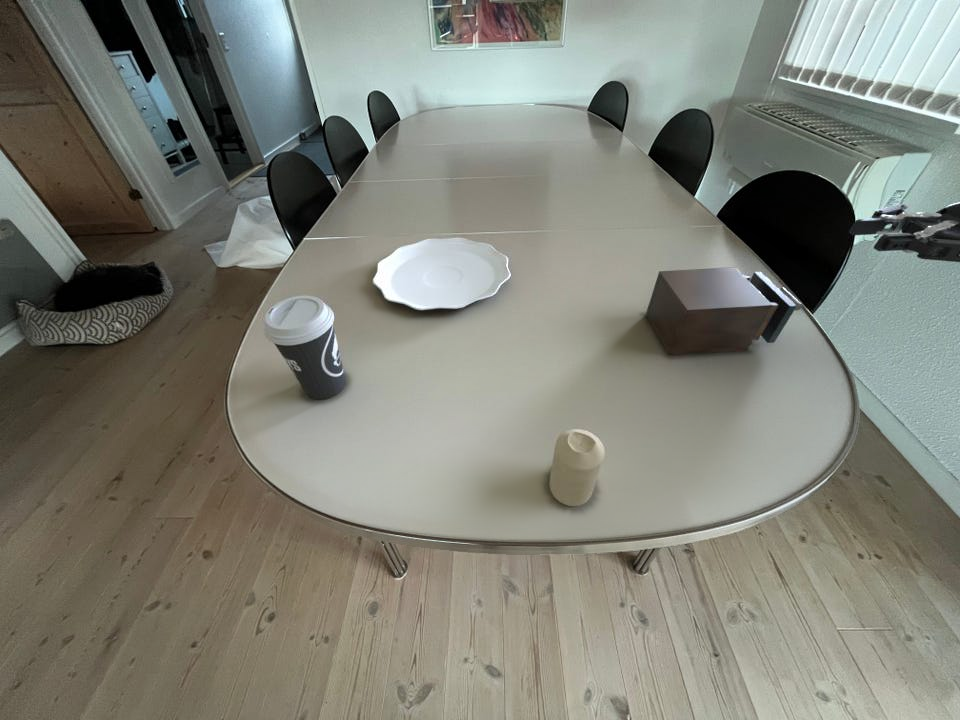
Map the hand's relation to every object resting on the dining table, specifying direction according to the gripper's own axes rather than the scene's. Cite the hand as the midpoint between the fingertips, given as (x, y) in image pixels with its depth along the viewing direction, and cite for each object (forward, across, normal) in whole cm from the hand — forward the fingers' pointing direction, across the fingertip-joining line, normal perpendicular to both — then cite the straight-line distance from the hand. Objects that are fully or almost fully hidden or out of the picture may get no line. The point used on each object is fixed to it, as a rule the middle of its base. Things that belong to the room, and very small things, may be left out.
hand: (866, 235), depth 57 cm
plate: (+62, -27, +20) cm, 71 cm away
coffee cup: (+81, +4, +20) cm, 84 cm away
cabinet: (+16, -4, +20) cm, 26 cm away
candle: (+45, +25, +20) cm, 55 cm away
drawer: (+9, -4, +19) cm, 22 cm away
